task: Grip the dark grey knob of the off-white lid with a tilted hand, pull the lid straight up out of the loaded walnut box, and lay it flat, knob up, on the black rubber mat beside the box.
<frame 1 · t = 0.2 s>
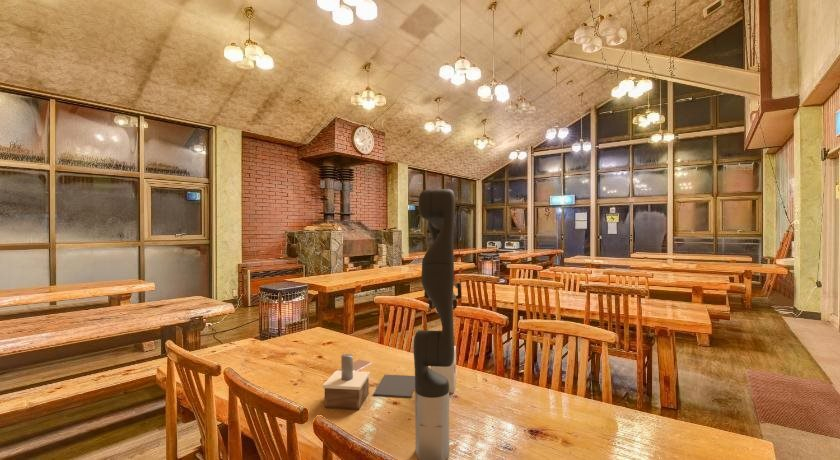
hand: (443, 309, 147), 29 cm above the table, tool pointing down, fingers open, 8 cm apart
walnut box: (347, 400, 134), on the table
lid: (347, 385, 134), point 5 cm above the table, touching walnut box
rubber mat: (396, 386, 146), on the table
mobile phone: (355, 368, 166), on the table
supplement box: (443, 388, 144), on the table
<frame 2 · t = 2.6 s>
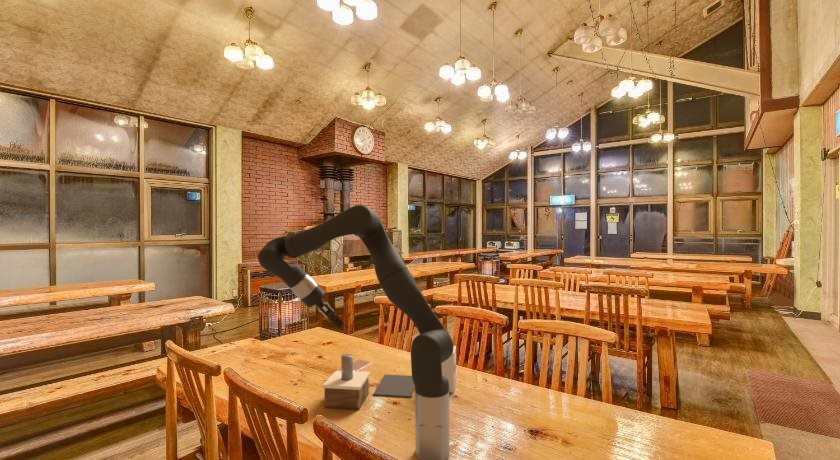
hand: (338, 322, 131), 28 cm above the table, tool tilted 40°, fingers open, 8 cm apart
nothing on the table moved.
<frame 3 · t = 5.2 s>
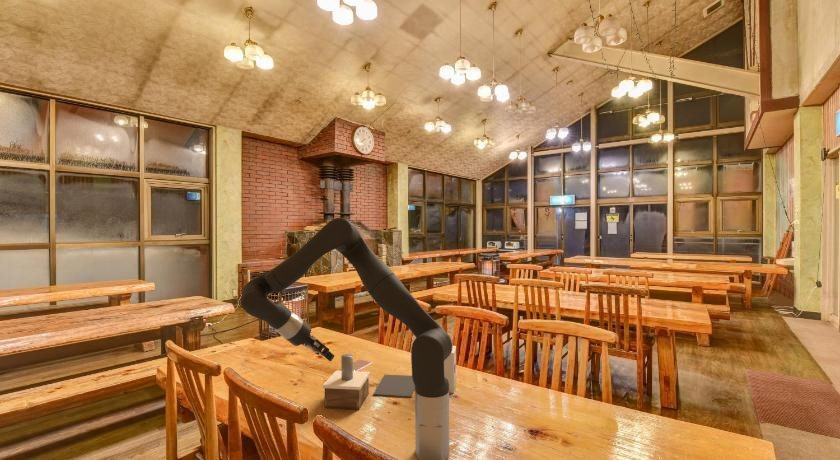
hand: (325, 355, 128), 18 cm above the table, tool tilted 45°, fingers open, 8 cm apart
nothing on the table moved.
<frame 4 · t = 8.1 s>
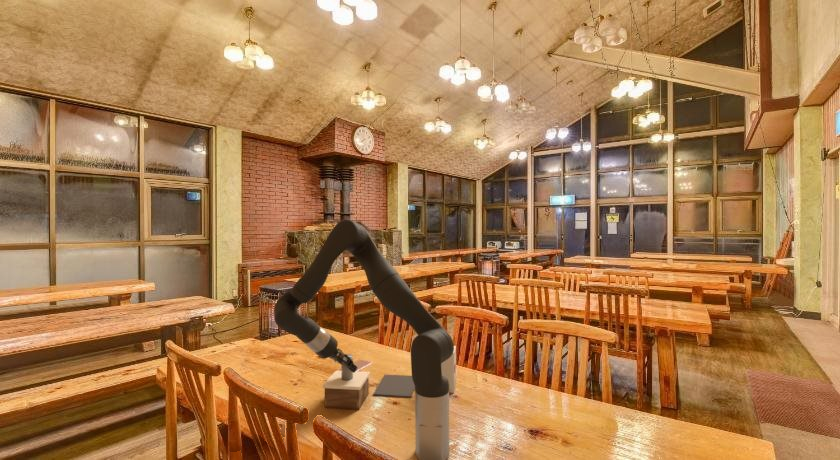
hand: (351, 368, 135), 11 cm above the table, tool tilted 45°, fingers closed on lid, 4 cm apart
lid: (347, 385, 134), point 5 cm above the table, touching gripper, walnut box
everything else where it was.
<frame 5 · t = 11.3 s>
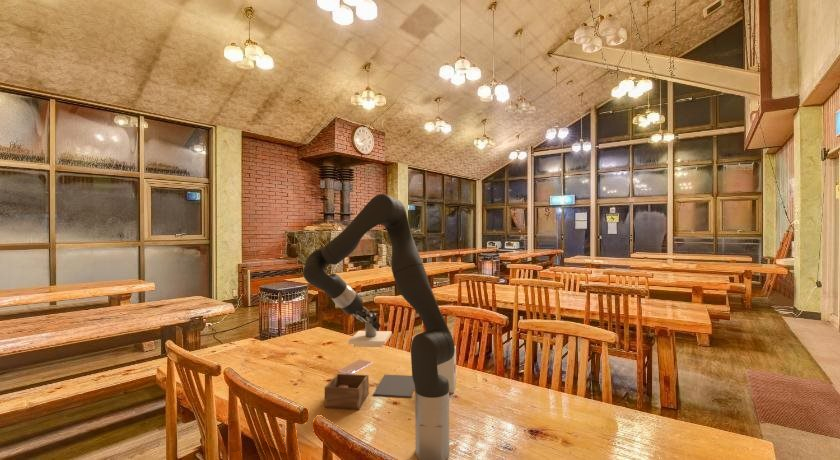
hand: (375, 326, 140), 24 cm above the table, tool tilted 45°, fingers closed on lid, 4 cm apart
lid: (371, 342, 139), point 19 cm above the table, touching gripper
everything else where it was.
when the fingers open (8 cm above the table, at t = 14.6 s): lid drops 2 cm, resting on rubber mat.
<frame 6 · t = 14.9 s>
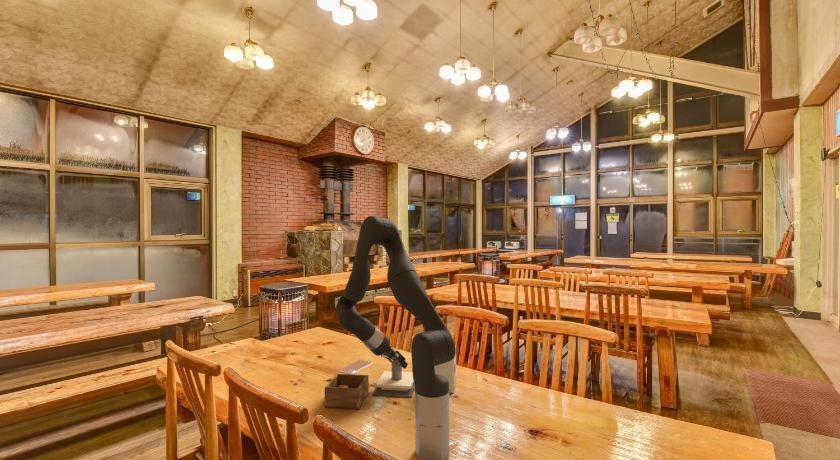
hand: (400, 363, 147), 8 cm above the table, tool tilted 45°, fingers open, 6 cm apart
lid: (396, 384, 146), point 1 cm above the table, touching rubber mat
everything else where it was.
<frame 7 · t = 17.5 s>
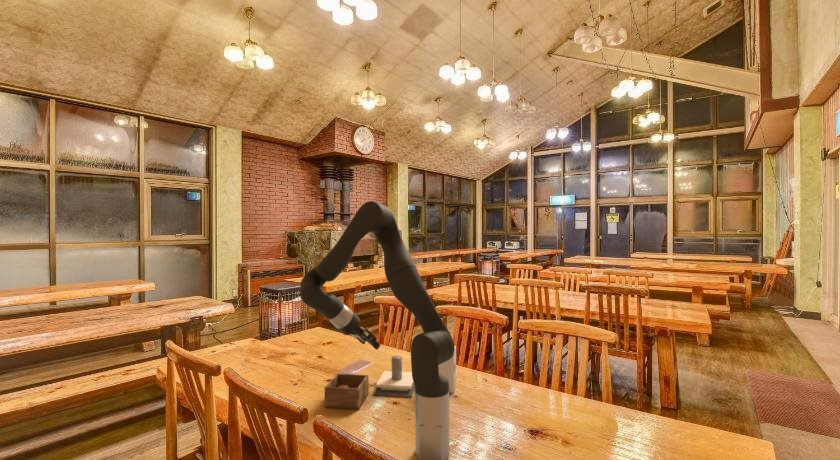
hand: (371, 344, 138), 19 cm above the table, tool tilted 45°, fingers open, 8 cm apart
nothing on the table moved.
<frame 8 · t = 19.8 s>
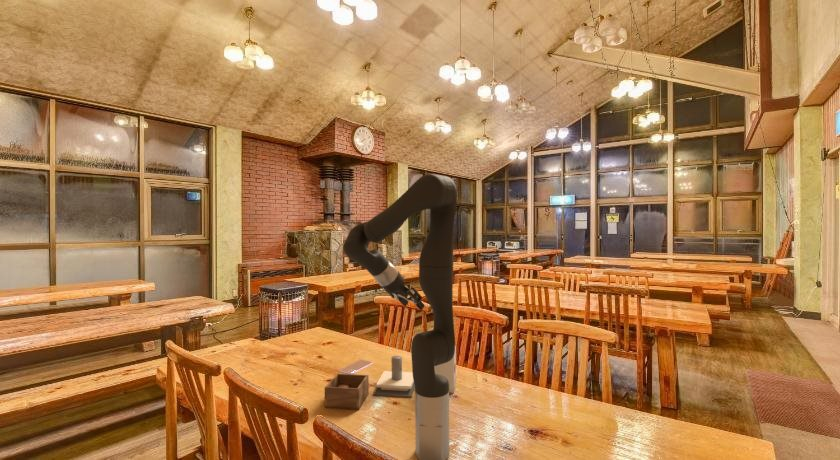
hand: (414, 306, 132), 34 cm above the table, tool tilted 45°, fingers open, 8 cm apart
nothing on the table moved.
at the end: lid inside the target area on the rubber mat (0.1 cm from its centre), point 0.6 cm above the rubber mat's base; lid tilted 0°; the gripper is holding nothing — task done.
